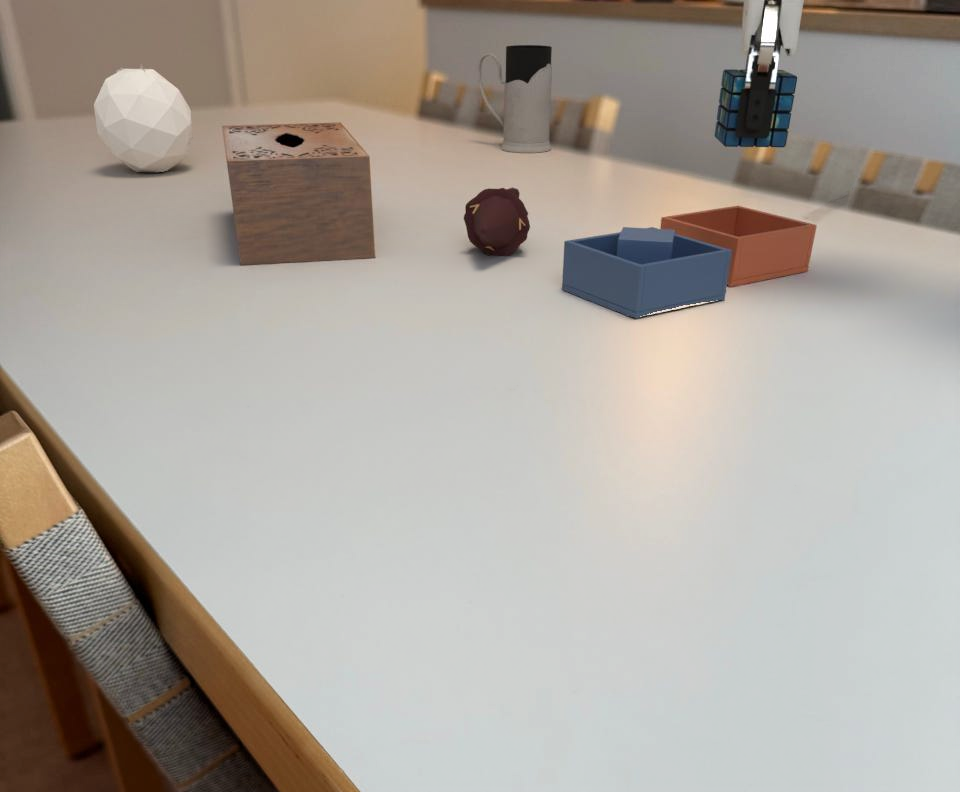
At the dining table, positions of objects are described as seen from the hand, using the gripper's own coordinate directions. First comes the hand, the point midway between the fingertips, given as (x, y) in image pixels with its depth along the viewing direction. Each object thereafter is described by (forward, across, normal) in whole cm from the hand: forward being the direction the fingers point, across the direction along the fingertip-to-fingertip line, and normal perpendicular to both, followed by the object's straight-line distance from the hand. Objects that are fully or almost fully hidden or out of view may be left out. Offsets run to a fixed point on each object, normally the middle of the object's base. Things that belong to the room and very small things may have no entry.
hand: (751, 130), depth 95 cm
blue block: (+12, -13, +8) cm, 20 cm away
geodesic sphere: (+13, +37, +87) cm, 96 cm away
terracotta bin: (+13, 0, 0) cm, 13 cm away
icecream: (+13, 0, +25) cm, 29 cm away
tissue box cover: (+13, +4, +50) cm, 52 cm away
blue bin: (+13, -13, +8) cm, 20 cm away
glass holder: (+13, +73, +37) cm, 83 cm away
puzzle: (+1, 0, 0) cm, 1 cm away
